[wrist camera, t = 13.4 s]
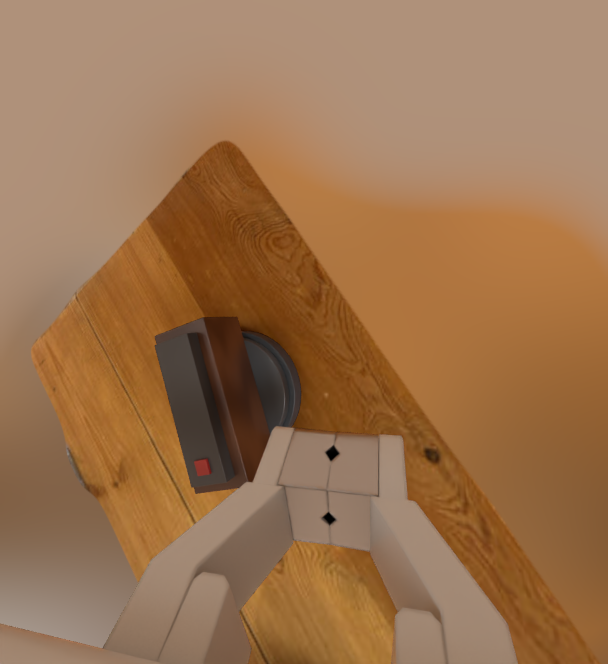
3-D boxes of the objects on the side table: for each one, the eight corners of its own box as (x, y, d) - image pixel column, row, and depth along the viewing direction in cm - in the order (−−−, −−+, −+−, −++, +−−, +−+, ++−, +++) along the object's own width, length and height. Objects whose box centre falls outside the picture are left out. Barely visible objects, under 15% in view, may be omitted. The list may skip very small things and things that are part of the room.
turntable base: (324, 384, 32) (319, 387, 31) (258, 470, 36) (250, 476, 34) (237, 307, 36) (229, 307, 34) (184, 393, 39) (174, 396, 38)
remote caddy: (180, 339, 37) (118, 345, 30) (266, 307, 33) (218, 306, 26) (214, 468, 36) (159, 505, 29) (308, 453, 32) (269, 492, 25)
